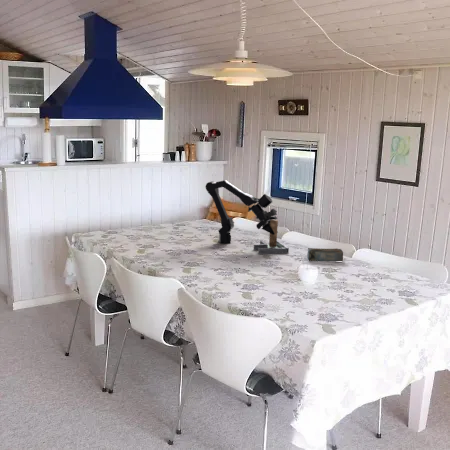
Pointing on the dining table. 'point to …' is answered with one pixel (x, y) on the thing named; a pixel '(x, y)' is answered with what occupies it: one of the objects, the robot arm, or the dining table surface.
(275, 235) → the walnut post
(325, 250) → the dark grey box
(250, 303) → the dining table surface
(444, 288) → the dining table surface
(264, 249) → the metal rail corridor
